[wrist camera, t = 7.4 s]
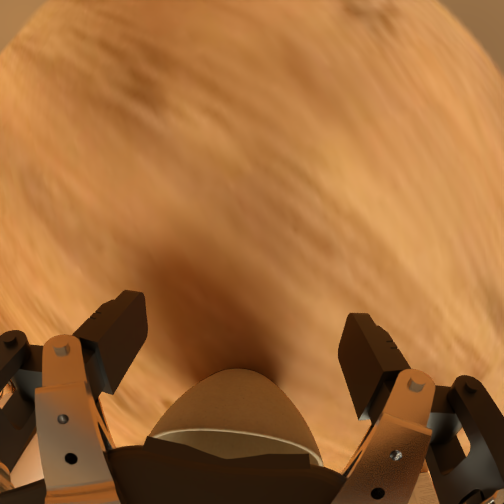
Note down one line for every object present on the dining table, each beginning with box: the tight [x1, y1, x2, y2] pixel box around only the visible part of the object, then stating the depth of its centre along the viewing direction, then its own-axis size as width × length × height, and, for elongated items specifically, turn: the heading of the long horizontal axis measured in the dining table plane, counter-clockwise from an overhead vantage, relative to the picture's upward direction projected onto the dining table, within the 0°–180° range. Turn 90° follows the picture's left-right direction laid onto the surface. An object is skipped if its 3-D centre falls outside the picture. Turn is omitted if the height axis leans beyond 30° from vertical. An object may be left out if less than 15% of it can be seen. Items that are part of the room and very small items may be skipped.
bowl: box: [143, 369, 323, 467], centre depth 14 cm, size 10×10×7 cm
